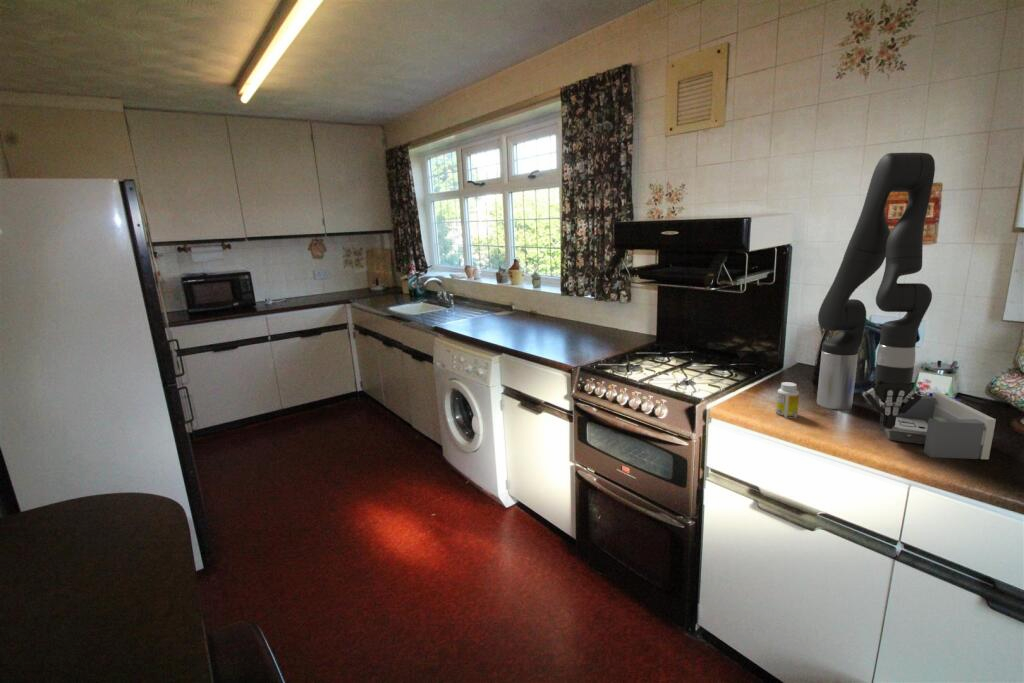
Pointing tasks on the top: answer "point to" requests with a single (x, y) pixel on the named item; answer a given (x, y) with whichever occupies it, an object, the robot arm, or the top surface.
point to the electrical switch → (908, 430)
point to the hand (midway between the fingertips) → (886, 427)
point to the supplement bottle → (787, 400)
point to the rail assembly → (953, 428)
